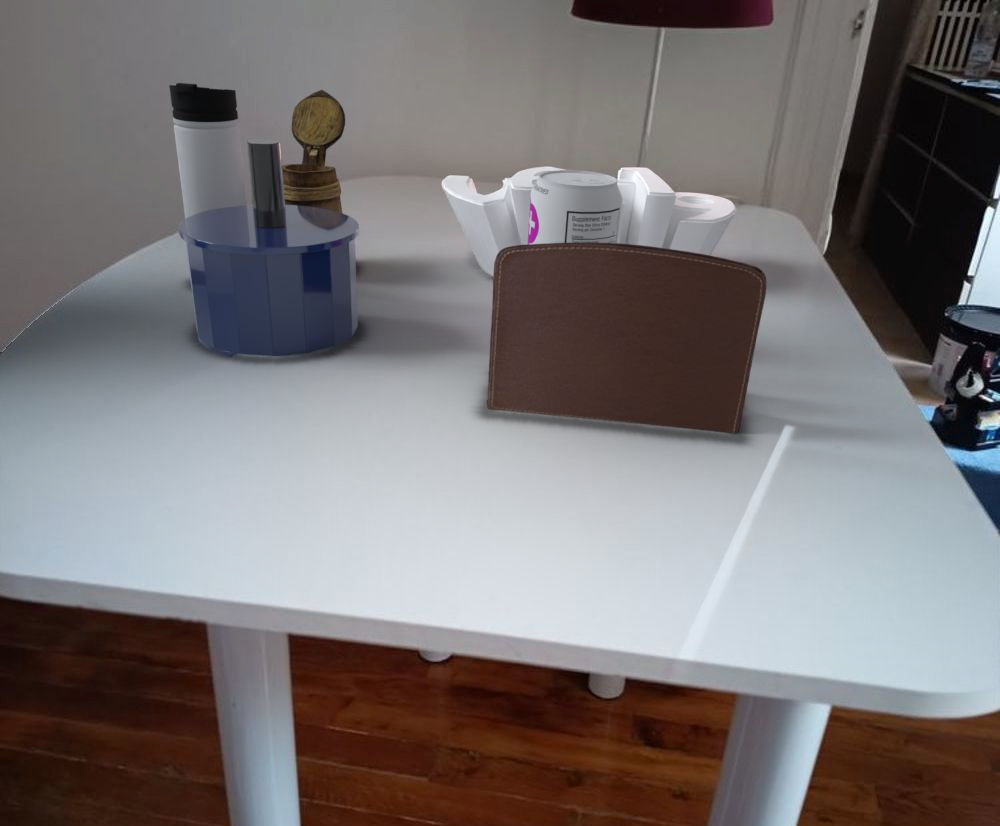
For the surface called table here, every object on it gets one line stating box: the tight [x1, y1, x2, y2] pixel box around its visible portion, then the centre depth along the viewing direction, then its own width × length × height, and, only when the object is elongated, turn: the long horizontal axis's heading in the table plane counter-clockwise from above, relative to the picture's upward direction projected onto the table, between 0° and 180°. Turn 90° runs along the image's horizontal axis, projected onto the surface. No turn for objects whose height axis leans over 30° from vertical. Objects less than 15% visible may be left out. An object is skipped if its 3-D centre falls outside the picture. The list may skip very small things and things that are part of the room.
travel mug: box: [168, 82, 248, 219], centre depth 93 cm, size 6×7×20 cm
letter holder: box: [486, 242, 768, 435], centre depth 72 cm, size 10×20×14 cm, turn 82°
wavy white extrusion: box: [441, 166, 737, 277], centre depth 107 cm, size 35×16×11 cm, turn 88°
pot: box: [184, 238, 359, 358], centre depth 84 cm, size 15×15×10 cm
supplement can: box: [528, 169, 623, 244], centre depth 85 cm, size 8×8×15 cm
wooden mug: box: [282, 89, 346, 213], centre depth 102 cm, size 9×14×18 cm, turn 178°
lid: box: [178, 138, 360, 255], centre depth 80 cm, size 16×16×8 cm
